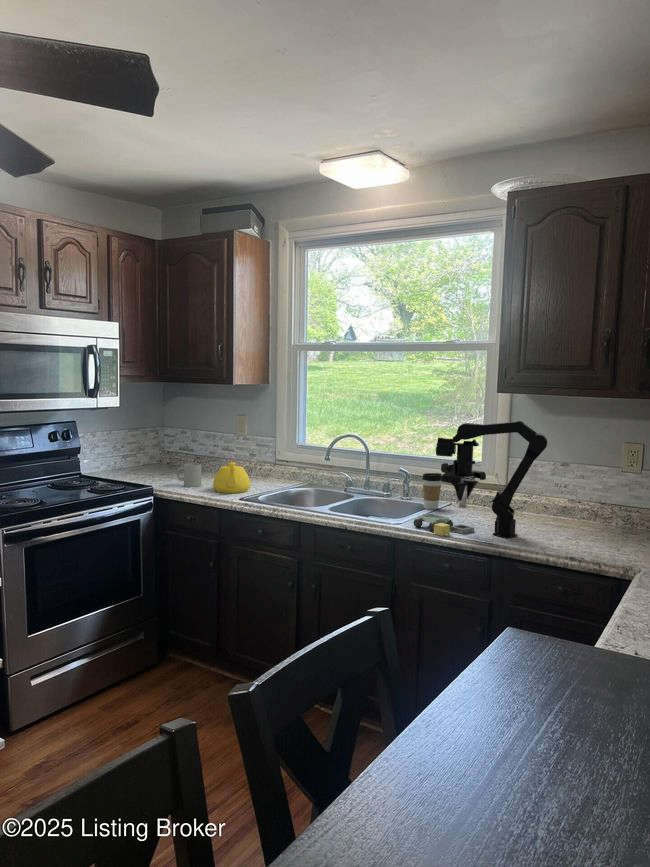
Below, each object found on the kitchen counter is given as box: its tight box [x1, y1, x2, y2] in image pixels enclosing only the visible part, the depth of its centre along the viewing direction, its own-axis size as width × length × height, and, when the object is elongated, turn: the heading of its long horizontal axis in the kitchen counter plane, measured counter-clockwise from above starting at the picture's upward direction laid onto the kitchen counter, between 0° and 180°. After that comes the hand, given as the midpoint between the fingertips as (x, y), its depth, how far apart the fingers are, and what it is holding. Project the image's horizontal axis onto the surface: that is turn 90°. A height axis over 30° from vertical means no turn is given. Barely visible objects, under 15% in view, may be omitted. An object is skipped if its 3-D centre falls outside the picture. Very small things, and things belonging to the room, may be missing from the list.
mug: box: [176, 462, 202, 488], centre depth 314 cm, size 12×8×11 cm
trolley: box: [413, 513, 454, 533], centre depth 236 cm, size 11×10×4 cm
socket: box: [450, 523, 475, 535], centre depth 232 cm, size 6×6×2 cm
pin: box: [457, 485, 468, 509], centre depth 231 cm, size 3×3×8 cm
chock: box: [433, 523, 451, 537], centre depth 227 cm, size 4×4×4 cm
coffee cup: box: [421, 472, 443, 510], centre depth 272 cm, size 8×8×15 cm
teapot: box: [212, 462, 251, 494], centre depth 302 cm, size 25×18×14 cm
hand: (462, 500), depth 231 cm, fingers closed on pin, 3 cm apart
